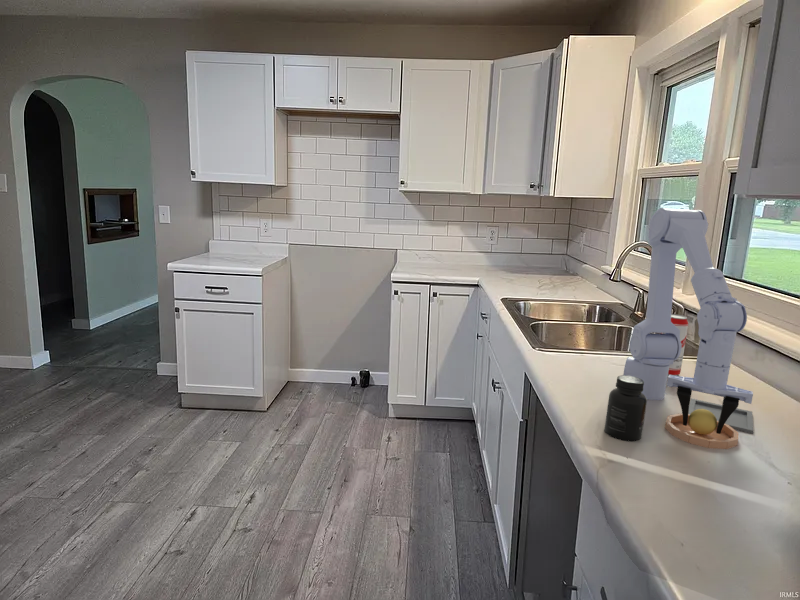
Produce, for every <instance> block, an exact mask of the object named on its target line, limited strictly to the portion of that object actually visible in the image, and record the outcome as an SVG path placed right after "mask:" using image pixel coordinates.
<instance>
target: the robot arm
mask: <svg viewBox="0 0 800 600" xmlns="http://www.w3.org/2000/svg"><path fill="white" fill-rule="evenodd" d="M648 226H649V228H648V245H649V246H651V252H650V253H651V254H650V255H651V257H650V265H649V266H650V267H649V269H650V270H649V278H648V279H649V281H648V291H647V292H648V293H647V304H646V315H645V316H646V318H645V319H643V320H642V321H640V322H639V323H637V324H635V325H634V326H633V329H632V334H631V338H630V340H629V345H628V346H629V351H630V354H631V356H627V358H626V360H625V364H624V368H623V374H622V375H627V376H633V377H637V378H640V379H642V380H643V381H644V386H643V391H642V392H641V393H643V394H644V395H645V397H646V399H647V400H650V401H661V400H664V398H665V395H668V394H667V393H666V389H667V387H669V388H673V387H675V388H677V390H676V396H677V398H678V402H679V404H680V408H681V414H682V415H683V425H685V426H687V422H688V414H689V405H690V401H691V398H692V393H693V391H694V392H698V393H703V394H707V395H712V396H718V397H723V400H722V403H721V405H722V409H721V414H720V418H719V421H718V425H717V431H716V433H718V434H721V430H722V428H723V426H724V424H725V422H726V421H727V419H728V418H729V416H730V415H731V414H732V413H733V412H734V411H735V410H736V408H738V407H739V403H740V401H741V402H744V403H746V404H750V405H751V404H752V401H753V396H754V391H752V390H748V389H744V388H740V387H737V386H733V385H730V384H728V379H729V374H730V369H731V364H732V360H733V359H732V357H733V354H734V349H735V344H736V338H737V333H739V332H741V331H743V330H744V329H745V327H746V325H747V321H748V313H747V310H746V306H745V305H744V304H743V303H742V302H740V301H738V299H737V298H735V297H733V296H732V293H731V291H730V288H729V286H728V283H727V280H726V278H725V276H724V273H723V271H722V270H720V269H718V268H716V267H714V265H713V264H714V263H713V261H712V256H711V254H710V249H709V246H708V242H707V238H706V235H707V232H708V228H709V223H708V219H707V215H706V214H705V211H703V210H701V209H695V210H694V209H693V210H692V209H674V208H666V207H665V208H664V207H659V208H658V209H657V210H655V212H654V213H653V215H652V216H651V218H649V225H648ZM681 249H682V250H683V252H684V254H685V257H686V258H687V260H688V262H689V264H690V266H691V268H692V270H693V271H692V272H693V273H694V274H693V275H692V276H691V279H690V282H691V286H692V288H693V291H694V293H695V296H696V299H697V302H698V305H699V307H700V308H699V311H698V312H697V314H696V317H697V319H696V320H697V323H698V330H697V331H698V332H697V334H698V337H699V338H700V340H699V344H698V345H699V346H698V351H697V356H696V363H695V368H694V373H693V377H690V376H680V375H677V376H674V375H669V376H668V372H669V366H670V364H673V361H674V360H676V359H677V358H678V357H679V355H680V353H681V349H682V346H681V341H680V330H679V329H678V328H677V327H676V326H675V325H674V324H673V323H672V322H671V314H672V313H673V312H672V308H673V296H674V286H675V285H674V284H675V277H676V276H675V274H676V261H677V254H678V253H679V251H680V250H681ZM661 333H665V334H661Z"/></svg>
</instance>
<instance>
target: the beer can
mask: <svg viewBox="0 0 800 600" xmlns="http://www.w3.org/2000/svg"><path fill="white" fill-rule="evenodd" d="M671 322H672V323H673V324H674V325H675V326H676V327H677V328H678V329H679V330H680V341H681V346H682V349H681V353H680V355H679V357H678V358H677V359H676V360H674V361H673V364H670V366H669V372H668V376H669V375H674V376H680V374H681V373H682V372H681V371H682V364H683V359H684V354H685V353H684V352H685V347H686V340H687V335H688V329H689V321H688V317H687V316H686V315H682V314H676V313H671ZM660 334H665V333H660Z"/></svg>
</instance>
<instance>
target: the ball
mask: <svg viewBox="0 0 800 600" xmlns="http://www.w3.org/2000/svg"><path fill="white" fill-rule="evenodd" d="M688 422H689V426H690V427H691V429H692V430H693V431H694V432H696V433H698V434H702V435H707V434H710V433H712V432H713V431H714V430H715V429H716V427H717V419H716V417H715V416H714V414H713V413H712V412H710V411H708V410H706V409H697V410H695V411H693V412H692V413H691V414H690V416H689V419H688Z"/></svg>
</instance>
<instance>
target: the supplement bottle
mask: <svg viewBox="0 0 800 600" xmlns="http://www.w3.org/2000/svg"><path fill="white" fill-rule="evenodd" d="M643 386H644V381H643V380H642V379H640V378H637V377H633V376H627V375H623V374H622V375H618V376H617V378H616V383H615V387H616V388H613V389H612V390H611V391H610V392H609V394H608V401H607V409H606V415H605V423H604V433H605V434H606V436H607V435H608V436H609V437H611V438H613V439H616V440H619V441H623V442H629V443H630V442H639V441H640V440H641V439H642V435H643V431H644V429H643V428H644V423H645V417H646V412H647V411H646V410H647V402H648V399H646V397H645V395H644V394H643V393H641V392H642V391H643Z"/></svg>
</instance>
